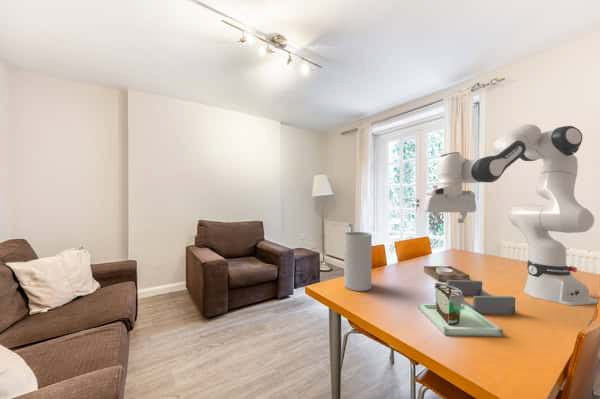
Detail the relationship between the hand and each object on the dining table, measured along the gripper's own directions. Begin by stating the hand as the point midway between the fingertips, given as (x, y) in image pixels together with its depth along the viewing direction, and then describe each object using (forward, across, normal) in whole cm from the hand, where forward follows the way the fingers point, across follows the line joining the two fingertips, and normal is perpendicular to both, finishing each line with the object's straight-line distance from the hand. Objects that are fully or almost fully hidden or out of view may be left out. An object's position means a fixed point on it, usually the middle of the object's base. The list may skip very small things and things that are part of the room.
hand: (449, 223), depth 100 cm
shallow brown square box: (+31, -12, -24) cm, 41 cm away
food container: (+30, +11, +21) cm, 39 cm away
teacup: (+32, -10, -23) cm, 40 cm away
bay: (+31, -7, +7) cm, 33 cm away
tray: (+31, +10, +21) cm, 39 cm away
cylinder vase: (+31, +37, -9) cm, 49 cm away
